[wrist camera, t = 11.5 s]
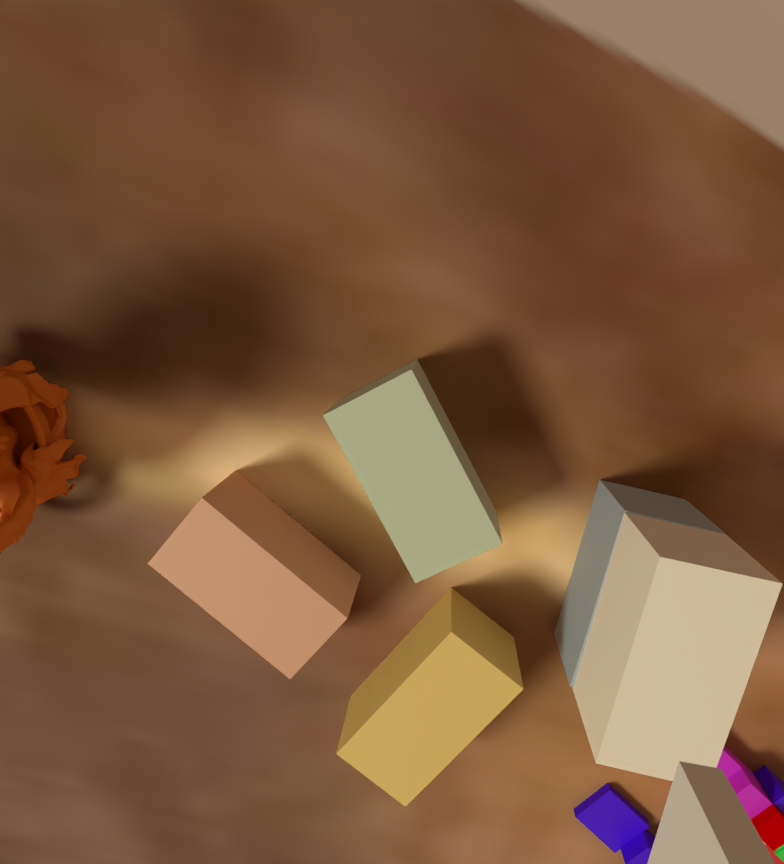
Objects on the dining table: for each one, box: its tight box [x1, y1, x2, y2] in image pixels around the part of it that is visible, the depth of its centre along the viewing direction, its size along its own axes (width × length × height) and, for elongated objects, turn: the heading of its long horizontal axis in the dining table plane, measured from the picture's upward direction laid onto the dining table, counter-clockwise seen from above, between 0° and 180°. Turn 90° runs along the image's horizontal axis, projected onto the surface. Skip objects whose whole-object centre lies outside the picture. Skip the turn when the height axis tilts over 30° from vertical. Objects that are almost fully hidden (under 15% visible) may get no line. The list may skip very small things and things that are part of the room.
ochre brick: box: [336, 587, 524, 807], centre depth 34 cm, size 9×4×5 cm, turn 141°
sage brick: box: [323, 359, 502, 583], centre depth 32 cm, size 9×4×5 cm, turn 28°
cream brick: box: [573, 513, 783, 781], centre depth 27 cm, size 9×4×5 cm, turn 169°
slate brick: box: [554, 480, 726, 687], centre depth 32 cm, size 9×4×5 cm, turn 168°
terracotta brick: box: [148, 471, 361, 679], centre depth 34 cm, size 9×4×5 cm, turn 49°
